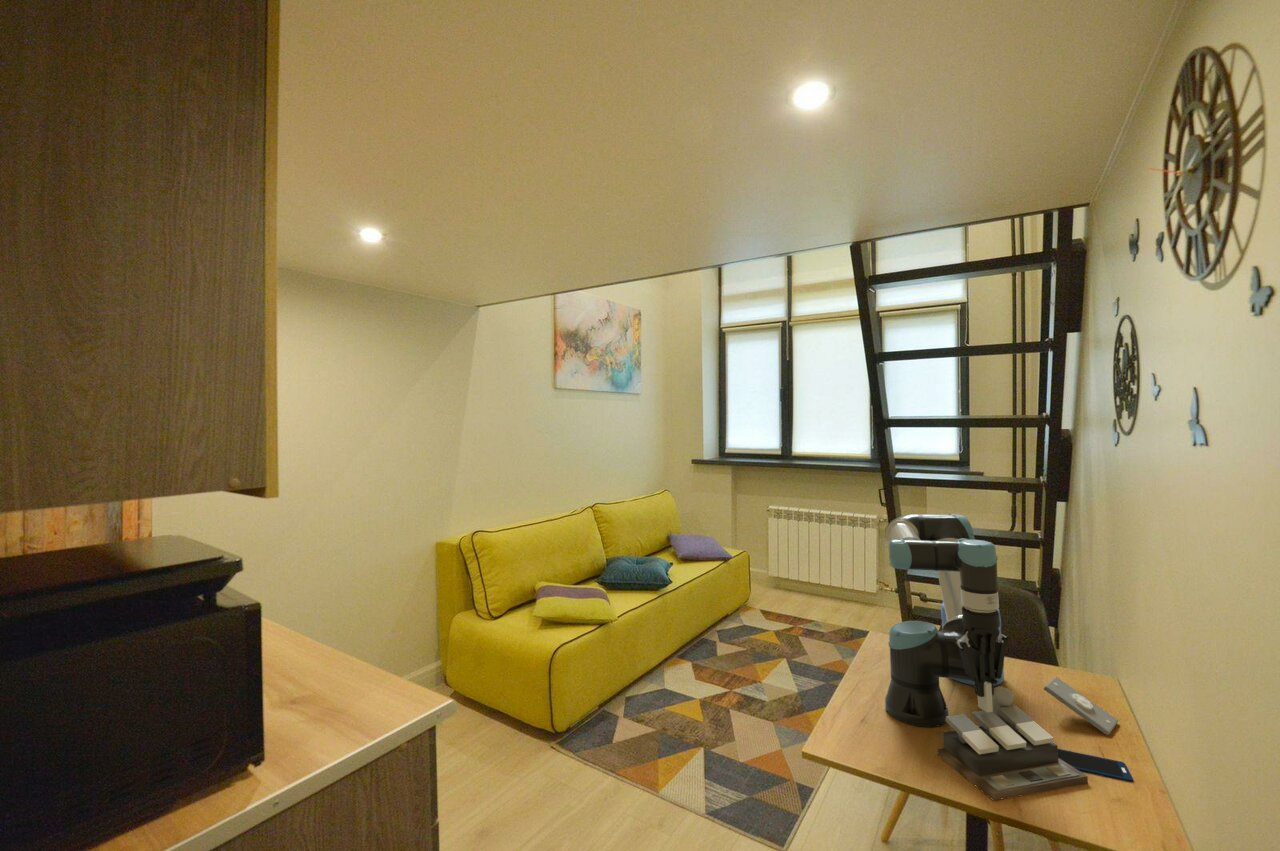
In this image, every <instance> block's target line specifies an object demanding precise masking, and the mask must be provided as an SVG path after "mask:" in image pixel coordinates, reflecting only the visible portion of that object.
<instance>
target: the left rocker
mask: <svg viewBox="0 0 1280 851" xmlns="http://www.w3.org/2000/svg"><path fill="white" fill-rule="evenodd" d="M946 723H947V724H948V725H949V726H950V727H951V729H953V731H956V732H957V733H958V738H959V741H960V742H961V743H962V744H965V743H968V744H969V745H970V746H971V747H972V748H973V749H974V750H975V751H976V752H977V753H978V754H985V753H991V752H997V751H998V750H999V746H998V745H997V744H996V743H995V742H994V741H993V740H992V739H990V738H989V737H988V736H987V735H986V734H985V733H984V732H983V731H982V730H981V729H980V728H979V727H980V726H978V725H977V724H976V723H975V722H974V721H972V719H970V718H969V717H968V716H967V715H966V714H965V713H960V714H953V715H948V716H946Z"/></svg>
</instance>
